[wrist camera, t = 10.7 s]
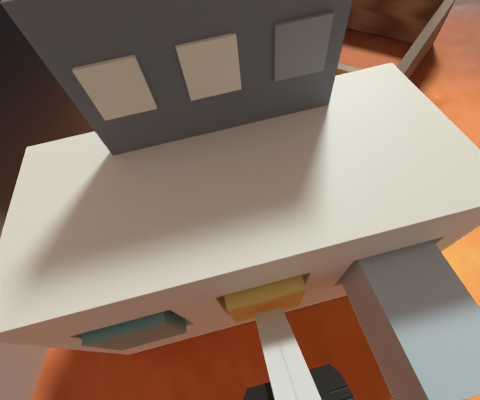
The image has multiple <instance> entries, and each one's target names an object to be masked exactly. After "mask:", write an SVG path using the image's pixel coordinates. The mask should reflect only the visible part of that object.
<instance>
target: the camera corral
mask: <svg viewBox="0 0 480 400" xmlns="http://www.w3.org/2000/svg"><path fill="white" fill-rule="evenodd" d="M454 2H455V0H352V5H351V9H350V14H349V18H348V22H347V27H346V28H348V29H353V30H357V31H362V32H366V33H370V34H375V35H379V36H383V37H388V38H392V39H396V40H401V41H405V42H410V43H413V45H412V46H411V48H410V49H409V50H408V52H407V53H406V54H405V56H404V57H403V59H402V60H401V61H400V63H399V64H398V66H397V68H398V69H399V70H400V71H401V72H402V73H403V74H404V75H405V76H406V77H407V78H408V79H409V80H410V78H411V77H412V75H413V74H414V72H415V71H416V69H417V68H418V66H419V65H420V63H421V62H422V60H423V59H424V57H425V56H426V54H427V53H428V51H429V49H430V48H431V46H432V45H433V43H434V41H435V39H436V37H437V35H438V33H439V31H440V29H441V27H442V25H443V23H444V21H445V19H446V17H447V16H448V14H449V12H450V10H451V8H452V6H453V4H454ZM358 70H362V69H360V68H356V67H353V66H349V65H346V64H342V63H338V67H337V71H336V75H341V74H345V73H349V72H354V71H358ZM336 75H335V76H336Z"/></svg>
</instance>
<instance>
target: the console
mask: <svg viewBox="0 0 480 400" xmlns="http://www.w3.org/2000/svg"><path fill="white" fill-rule="evenodd" d="M478 226H480V149H479V148H478V147H477V146H476V145H475V144H474V143H473V142H472V141H471V140H470V139H469V138H468V137H467V136H466V135H465V134H464V133H463V132H462V131H461V130H460V129H459V128H458V127H457V126H456V125H454V124H453V123H452V122H451V121H450V120H449V119H448V118H447V117H446V116H445V115H444V114H443V113H442V112H441V111H440V110H439V109H438V108H437V107H436V106H435V105H434V104H433V103H432V102H431V101H430V100H429V99H428V98H427V97H426V96H425V95H424V94H423V93H422V92H421V91H420V90H419V89H418V88H417V87H416V86H415V85H414V84H413V83H412V82H411V81H410V80H409V79H408V78H407V77H406V76H405V75H404V74H403V73H402V72H401V71H400V70H399V69H398V68H397V67H396V66H395V65H394V64H393V63H388V64H384V65H379V66H375V67H371V68H366V69H362V70H358V71H354V72H349V73H345V74H341V75H336V76H335V80H334V84H333V89H332V93H331V98H330V102H329V105H325V106H321V107H317V108H313V109H308V110H304V111H300V112H296V113H291V114H287V115H283V116H279V117H275V118H270V119H266V120H262V121H258V122H253V123H249V124H245V125H241V126H236V127H232V128H228V129H224V130H220V131H215V132H211V133H207V134H203V135H198V136H194V137H190V138H186V139H182V140H177V141H173V142H169V143H165V144H160V145H156V146H152V147H148V148H143V149H139V150H135V151H131V152H127V153H122V154H118V155H114V156H113V155H112V154H111V153H110V151H109V150H108V148H107V147H106V146H105V144H104V143H103V142H102V140H101V139H100V138H99V136H98V135H97V134H96V132H95V131H94V132H90V133H86V134H81V135H77V136H73V137H68V138H64V139H60V140H56V141H52V142H47V143H43V144H38V145H34V146H30V147H27V148H26V151H25V155H24V159H23V162H22V165H21V169H20V172H19V176H18V179H17V182H16V186H15V189H14V193H13V196H12V200H11V203H10V207H9V210H8V214H7V217H6V221H5V224H4V227H3V231H2V234H1V238H0V343H7V344H18V345H28V346H39V347H50V348H60V349H71V350H82V351H93V352H103V353H114V354H125V355H131V354H134V353H138V352H142V351H145V350H149V349H153V348H156V347H160V346H164V345H167V344H171V343H175V342H178V341H182V340H186V339H189V338H193V337H197V336H200V335H204V334H208V333H211V332H215V331H219V330H222V329H226V328H230V327H233V326H237V325H241V324H244V323H248V322H252V321H255V318H251V319H248V320H244V321H240V322H237V323H236V322H235V321H234V320H233V318H232V317H231V316H230V314H229V313H228V312H227V309H226V304H225V299H224V295H228V294H231V293H235V292H239V291H243V290H246V289H250V288H254V287H258V286H261V285H265V284H269V283H273V282H276V281H280V280H284V279H288V278H291V277H295V276H299V275H302V277H303V280H304V283H305V286H306V288H307V290H306V292H305V294H304V296H303V298H302V300H301V303H300V305H299V306H296V307H292V308H288V309H285V310H283V311H284V313H285V312H288V311H292V310H296V309H299V308H303V307H307V306H310V305H314V304H318V303H321V302H325V301H329V300H332V299H336V298H340V297H344V296H347V295H346V293H345V290H344V288H343V286H342V284H341V281H340V278H341V277H342V275H343V274H344V273H345V272H346V270H347V269H348V268H349V266H350V265H351V264H352V263H353V261H355V260H359V259H363V258H366V257H370V256H374V255H378V254H382V253H385V252H389V251H393V250H397V249H400V248H404V247H408V246H412V245H415V244H419V243H423V242H427V241H430V240H433V242H434V243H435V244H436V246H437V247H438V249H439V250H440V252H441V251H443V250H444V249H446V248H447V247H449V246H450V245H452V244H453V243H455V242H456V241H457V240H459V239H460V238H462V237H463V236H465V235H466V234H468V233H469V232H471V231H472V230H474V229H475V228H477V227H478ZM168 310H171V311H173V312H174V313H176V314H178V315H179V316H181V317H183V318H185V320H186V329H187V333H184V334H180V335H177V336H173V337H169V338H166V339H162V340H158V341H155V342H151V343H147V344H143V345H140V346H136V347H132V348H129V349H125V350H113V349H104V348H96V347H88V346H81V345H82V333H85V332H89V331H92V330H96V329H100V328H104V327H107V326H111V325H115V324H119V323H123V322H126V321H130V320H134V319H138V318H141V317H145V316H149V315H153V314H156V313H160V312H164V311H168Z"/></svg>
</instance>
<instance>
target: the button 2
mask: <svg viewBox="0 0 480 400" xmlns="http://www.w3.org/2000/svg"><path fill="white" fill-rule="evenodd" d="M340 281H341V284H342V286H343V288H344V290H345V293H346V295H347V297H348V299H349V302H350V304H351V306H352V308H353V311H354V313H355V315H356V317H357V320H358V322H359V324H360V326H361V329H362V331H363V333H364V335H365V338H366V340H367V342H368V345H369V347H370V349H371V351H372V354H373V356H374V358H375V360H376V363H377V365H378V367H379V369H380V372H381V374H382V376H383V378H384V381H385V383H386V385H387V387H388V390H389V392H390V394H391V396H392V398H393V399H397V400H464V399H467V398H470V397H474V396H477V395H480V308H479V306H478V305H477V304H476V302H475V301H474V299H473V298H472V296H471V295H470V293H469V292H468V291H467V289H466V288H465V286H464V285H463V283H462V282H461V280H460V279H459V278H458V276H457V275H456V273H455V272H454V270H453V269H452V268H451V266H450V265H449V263H448V262H447V260H446V259H445V257H444V256H443V255H442V253H441V252H440V250H439V249H438V247H437V246H436V244H435V243H434V242H433V240H430V241H427V242H423V243H419V244H415V245H412V246H408V247H404V248H400V249H397V250H393V251H389V252H385V253H382V254H378V255H374V256H370V257H366V258H363V259H359V260H355V261H353V263H352V264H351V265H350V266H349V268H348V269H347V270H346V272H345V273H344V274H343V275H342V277H341V278H340Z"/></svg>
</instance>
